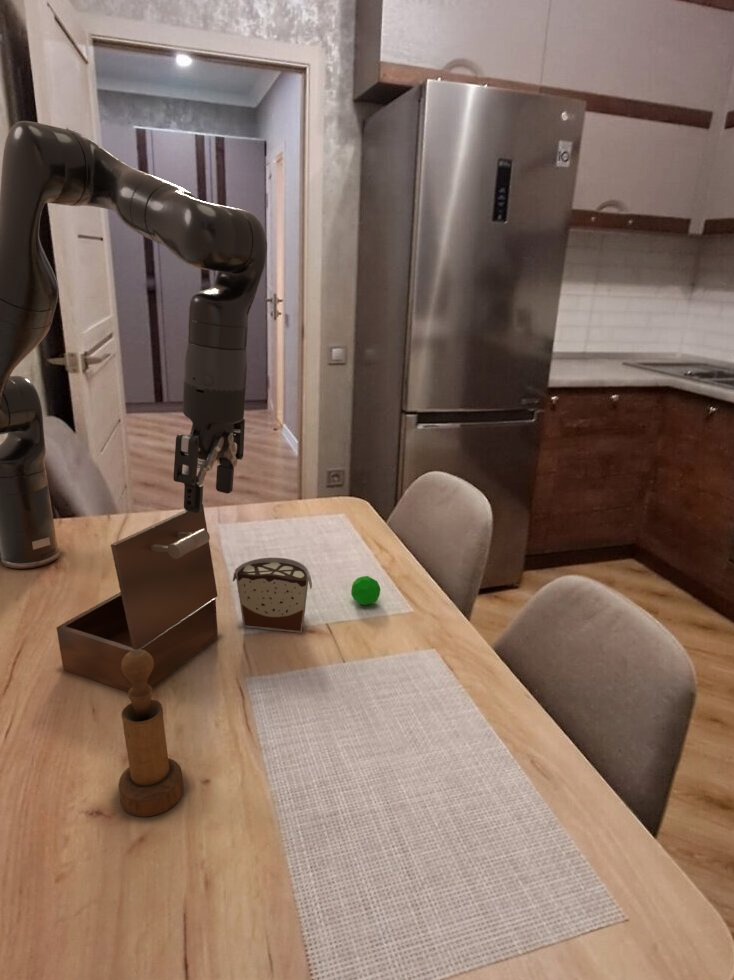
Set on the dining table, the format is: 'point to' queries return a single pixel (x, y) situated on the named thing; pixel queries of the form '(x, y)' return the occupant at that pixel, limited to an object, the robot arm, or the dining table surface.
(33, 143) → the robot arm
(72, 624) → the walnut box
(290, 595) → the food container
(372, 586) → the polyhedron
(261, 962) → the dining table surface
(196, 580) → the box lid
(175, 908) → the dining table surface
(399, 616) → the dining table surface
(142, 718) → the mortar and pestle
